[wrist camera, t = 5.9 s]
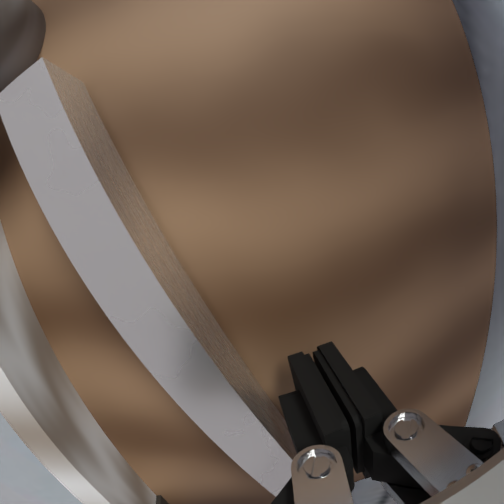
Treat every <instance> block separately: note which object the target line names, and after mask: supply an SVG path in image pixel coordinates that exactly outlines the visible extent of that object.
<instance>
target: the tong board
mask: <svg viewBox="0 0 504 504" xmlns="http://www.w3.org/2000/svg"><path fill="white" fill-rule="evenodd" d="M42 57H43V58H45V59H46V60H48V61H50V62H51V63H53V64H54V65H56V66H58V67H59V68H61V69H63V70H64V71H66V72H67V73H69V74H71V75H72V76H74V77H75V78H77V79H79V80H80V81H82V82H83V83H84V85H85V87H86V89H87V91H88V93H89V95H90V97H91V100H92V102H93V104H94V106H95V108H96V110H97V112H98V114H99V116H100V118H101V120H102V122H103V124H104V126H105V128H106V130H107V132H108V134H109V136H110V138H111V140H112V142H113V144H114V146H115V148H116V150H117V152H118V153H119V155H120V157H121V159H122V161H123V163H124V165H125V167H126V169H127V170H128V172H129V174H130V176H131V178H132V180H133V182H134V183H135V185H136V187H137V189H138V191H139V193H140V194H141V196H142V198H143V200H144V202H145V203H146V205H147V207H148V209H149V210H150V212H151V214H152V216H153V217H154V219H155V221H156V223H157V224H158V226H159V228H160V230H161V231H162V233H163V235H164V236H165V238H166V240H167V242H168V243H169V245H170V247H171V248H172V250H173V252H174V253H175V255H176V257H177V258H178V260H179V262H180V263H181V265H182V267H183V268H184V270H185V272H186V273H187V275H188V276H189V278H190V280H191V281H192V283H193V285H194V286H195V288H196V289H197V291H198V293H199V294H200V296H201V297H202V299H203V301H204V302H205V304H206V305H207V307H208V308H209V310H210V311H211V313H212V315H213V316H214V318H215V319H216V321H217V322H218V324H219V325H220V327H221V328H222V330H223V331H224V333H225V334H226V336H227V338H228V339H229V341H230V342H231V344H232V345H233V347H234V348H235V349H236V351H237V352H238V354H239V355H240V357H241V358H242V360H243V361H244V363H245V364H246V366H247V367H248V369H249V370H250V371H251V373H252V374H253V376H254V377H255V379H256V380H257V381H258V383H259V384H260V386H261V387H262V389H263V390H264V391H265V393H266V394H267V396H268V397H269V398H270V400H271V401H272V403H273V404H274V405H275V407H276V408H277V409H278V411H279V412H280V414H281V415H282V416H283V418H284V415H283V411H282V408H281V405H280V401H279V398H278V396H280V395H283V394H287V393H290V392H293V391H296V390H295V386H294V382H293V378H292V374H291V370H290V366H289V362H288V356H289V355H292V354H295V353H298V352H301V351H302V352H303V353H304V355H305V354H308V353H309V354H310V356H311V357H312V359H313V361H314V358H313V352H314V351H317V346H319V345H322V344H325V343H328V342H331V341H332V342H333V343H334V345H335V346H336V347H337V349H338V350H339V352H340V353H341V354H342V356H343V357H344V359H345V360H346V361H347V363H348V364H349V366H350V367H351V368H352V370H354V369H357V368H360V367H364V368H365V369H366V370H367V371H368V373H369V374H370V375H371V377H372V378H373V379H374V380H375V382H376V383H377V384H378V386H379V387H380V388H381V390H382V391H383V392H384V393H385V395H386V396H387V397H388V399H389V400H390V401H391V403H392V404H393V405H394V406H395V408H396V409H397V410H398V411H399V410H403V409H416V410H420V411H421V412H423V413H425V414H426V415H427V416H428V417H429V418H431V419H432V420H433V421H434V422H435V423H437V424H438V425H447V426H460V427H464V426H465V425H466V422H467V418H468V415H469V412H470V409H471V405H472V402H473V398H474V395H475V391H476V387H477V383H478V379H479V375H480V371H481V367H482V362H483V357H484V352H485V347H486V342H487V336H488V330H489V324H490V317H491V310H492V301H493V292H494V281H495V267H496V243H497V215H496V190H495V177H494V166H493V156H492V148H491V141H490V134H489V128H488V122H487V116H486V111H485V106H484V101H483V97H482V92H481V88H480V84H479V80H478V76H477V72H476V68H475V65H474V61H473V58H472V54H471V51H470V48H469V45H468V41H467V38H466V35H465V33H464V30H463V27H462V24H461V21H460V19H459V16H458V14H457V11H456V8H455V6H454V4H453V1H452V0H0V92H2V91H3V90H4V89H5V88H6V87H7V86H8V85H9V84H10V83H11V82H13V81H14V80H15V79H16V78H17V77H18V76H19V75H21V74H22V73H23V72H24V71H25V70H27V69H28V68H29V67H30V66H32V65H33V64H34V63H35V62H37V61H38V60H39V59H40V58H42ZM0 412H1V414H2V415H3V416H4V418H5V419H6V420H7V422H8V423H9V424H10V426H11V427H12V428H13V430H14V431H15V432H16V433H17V435H18V436H19V437H20V438H21V440H22V441H23V442H24V443H25V444H26V446H27V447H28V448H29V449H30V450H31V452H32V453H33V454H34V455H35V456H36V457H37V458H38V460H39V461H40V462H41V463H42V464H43V465H44V466H45V467H46V468H47V469H48V470H49V471H50V472H51V474H52V475H53V476H54V477H55V478H56V479H57V480H58V481H59V482H60V483H61V484H62V485H63V486H64V487H65V488H66V489H68V490H69V491H70V492H71V493H72V494H73V495H74V496H75V497H76V498H77V499H78V500H79V501H80V502H82V503H83V504H271V502H272V501H273V500H274V499H275V496H274V495H273V494H272V493H270V492H269V491H268V490H267V489H266V488H264V487H263V486H262V485H261V484H260V483H258V482H257V481H256V480H255V479H254V478H253V477H251V476H250V475H249V474H248V473H247V472H246V471H245V470H243V469H242V468H241V467H240V466H239V465H238V464H237V463H236V462H235V461H233V460H232V459H231V458H230V457H229V456H228V455H227V454H226V453H225V452H224V451H223V450H222V449H221V448H220V447H219V446H218V445H217V444H216V443H215V442H214V441H212V440H211V439H210V438H209V437H208V436H207V435H206V434H205V433H204V432H203V430H202V429H201V428H200V427H199V426H198V425H197V424H196V423H195V422H194V421H193V420H192V419H191V418H190V417H189V416H188V415H187V414H186V413H185V412H184V411H183V410H182V408H181V407H180V406H179V405H178V404H177V403H176V402H175V401H174V400H173V398H172V397H171V396H170V395H169V394H168V393H167V392H166V391H165V389H164V388H163V387H162V386H161V385H160V384H159V382H158V381H157V380H156V379H155V378H154V377H153V375H152V374H151V373H150V372H149V371H148V369H147V368H146V367H145V366H144V364H143V363H142V362H141V361H140V359H139V358H138V357H137V356H136V354H135V353H134V352H133V351H132V349H131V348H130V347H129V345H128V344H127V343H126V341H125V340H124V339H123V338H122V336H121V335H120V334H119V332H118V331H117V329H116V328H115V327H114V325H113V324H112V323H111V321H110V320H109V318H108V317H107V316H106V314H105V313H104V311H103V310H102V308H101V307H100V306H99V304H98V303H97V301H96V300H95V298H94V297H93V295H92V294H91V292H90V291H89V289H88V288H87V286H86V285H85V283H84V282H83V280H82V278H81V277H80V275H79V274H78V272H77V271H76V269H75V267H74V266H73V264H72V262H71V261H70V259H69V257H68V256H67V254H66V252H65V251H64V249H63V247H62V246H61V244H60V242H59V240H58V239H57V237H56V235H55V233H54V231H53V230H52V228H51V226H50V224H49V222H48V220H47V219H46V217H45V215H44V213H43V211H42V209H41V207H40V205H39V203H38V201H37V199H36V197H35V195H34V193H33V191H32V189H31V187H30V185H29V183H28V181H27V179H26V176H25V174H24V172H23V170H22V168H21V165H20V163H19V161H18V158H17V156H16V154H15V151H14V149H13V147H12V144H11V142H10V139H9V137H8V134H7V131H6V129H5V126H4V124H3V121H2V118H1V115H0ZM284 419H285V418H284ZM353 472H354V482H357V481H359V480H362V479H364V478H365V477H364V475H363V473H362V472H361V473H358V474H357V473H356V472H355V470H354V468H353Z"/></svg>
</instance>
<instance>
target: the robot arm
mask: <svg viewBox="0 0 504 504" xmlns="http://www.w3.org/2000/svg"><path fill="white" fill-rule="evenodd" d="M313 358H314V361H313V359H312V357H311V356H310V354H309V353H308V354H305V355H304V353H303V352H302V351H301V352H298V353H295V354H292V355H289V356H288V362H289V366H290V370H291V374H292V378H293V382H294V386H295V390H296V391H293V392H290V393H287V394H283V395H280V396H278V398H279V401H280V405H281V408H282V411H283V415H284V418H285V421H286V424H287V427H288V430H289V433H290V436H291V439H292V441H293V444H294V447H295V450H296V453H297V455H296V456H295V457H294V459H293V461H292V463H291V474H292V477H291V478H290V479H289V481H288V482H287V483H286V485H285V486H284V487H283V489H282V490H281V491H280V492H279V494H278V495H277V496H276V497H275V499H274V500H273V501H272V502H271V504H353V500H352V496H351V492H352V490H353V489H354V472H353V468H354V470H355V472H356V473H357V474H358V473H361V472H362V473H363V475H364V477H365V479H366V478H369V477H371V478H372V480H376V481H381V484H382V486H383V487H384V488H385V490H386V491H387V492H388V493H389V494H390V496H391V497H392V498H393V499H394V500H395V501H396V503H397V504H504V420H502V421H500V422H498V423H496V424H494V425H493V428H491V429H487V428H476V427H460V426H447V425H438V424H437V423H435V422H434V421H433V420H432V419H431V418H429V417H428V416H427V415H426V414H425V413H423V412H421V411H420V410H416V409H403V410H399V411H398V410H397V409H396V408H395V406H394V405H393V404H392V403H391V401H390V400H389V399H388V397H387V396H386V395H385V393H384V392H383V391H382V390H381V388H380V387H379V386H378V384H377V383H376V382H375V380H374V379H373V378H372V377H371V375H370V374H369V373H368V371H367V370H366V369H365V368H364V367H360V368H357V369H354V370H352V368H351V367H350V366H349V364H348V363H347V361H346V360H345V359H344V357H343V356H342V354H341V353H340V352H339V350H338V349H337V347H336V346H335V345H334V343H333V342H332V341H331V342H328V343H325V344H322V345H319V346H317V351H314V352H313Z"/></svg>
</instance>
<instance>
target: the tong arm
mask: <svg viewBox="0 0 504 504" xmlns="http://www.w3.org/2000/svg"><path fill="white" fill-rule="evenodd" d="M0 115H1V118H2V121H3V124H4V126H5V129H6V131H7V134H8V137H9V139H10V142H11V144H12V147H13V149H14V151H15V154H16V156H17V158H18V161H19V163H20V165H21V168H22V170H23V172H24V174H25V176H26V179H27V181H28V183H29V185H30V187H31V189H32V191H33V193H34V195H35V197H36V199H37V201H38V203H39V205H40V207H41V209H42V211H43V213H44V215H45V217H46V219H47V220H48V222H49V224H50V226H51V228H52V230H53V231H54V233H55V235H56V237H57V239H58V240H59V242H60V244H61V246H62V247H63V249H64V251H65V252H66V254H67V256H68V257H69V259H70V261H71V262H72V264H73V266H74V267H75V269H76V271H77V272H78V274H79V275H80V277H81V278H82V280H83V282H84V283H85V285H86V286H87V288H88V289H89V291H90V292H91V294H92V295H93V297H94V298H95V300H96V301H97V303H98V304H99V306H100V307H101V308H102V310H103V311H104V313H105V314H106V316H107V317H108V318H109V320H110V321H111V323H112V324H113V325H114V327H115V328H116V329H117V331H118V332H119V334H120V335H121V336H122V338H123V339H124V340H125V341H126V343H127V344H128V345H129V347H130V348H131V349H132V351H133V352H134V353H135V354H136V356H137V357H138V358H139V359H140V361H141V362H142V363H143V364H144V366H145V367H146V368H147V369H148V371H149V372H150V373H151V374H152V375H153V377H154V378H155V379H156V380H157V381H158V382H159V384H160V385H161V386H162V387H163V388H164V389H165V391H166V392H167V393H168V394H169V395H170V396H171V397H172V398H173V400H174V401H175V402H176V403H177V404H178V405H179V406H180V407H181V408H182V410H183V411H184V412H185V413H186V414H187V415H188V416H189V417H190V418H191V419H192V420H193V421H194V422H195V423H196V424H197V425H198V426H199V427H200V428H201V429H202V430H203V432H204V433H205V434H206V435H207V436H208V437H209V438H210V439H211V440H212V441H214V442H215V443H216V444H217V445H218V446H219V447H220V448H221V449H222V450H223V451H224V452H225V453H226V454H227V455H228V456H229V457H230V458H231V459H232V460H233V461H235V462H236V463H237V464H238V465H239V466H240V467H241V468H242V469H243V470H245V471H246V472H247V473H248V474H249V475H250V476H251V477H253V478H254V479H255V480H256V481H257V482H258V483H260V484H261V485H262V486H263V487H264V488H266V489H267V490H268V491H269V492H270V493H272V494H273V495H274V496H275V497H276V496H277V495H278V494H279V492H280V491H281V490H282V489H283V487H284V486H285V485H286V483H287V482H288V481H289V479H290V478H291V477H292V474H291V463H292V461H293V459H294V457H295V456H296V455H297V453H296V450H295V447H294V444H293V441H292V439H291V436H290V433H289V430H288V427H287V424H286V421H285V419H284V418H283V416H282V415H281V414H280V412H279V411H278V409H277V408H276V407H275V405H274V404H273V403H272V401H271V400H270V398H269V397H268V396H267V394H266V393H265V391H264V390H263V389H262V387H261V386H260V384H259V383H258V381H257V380H256V379H255V377H254V376H253V374H252V373H251V371H250V370H249V369H248V367H247V366H246V364H245V363H244V361H243V360H242V358H241V357H240V355H239V354H238V352H237V351H236V349H235V348H234V347H233V345H232V344H231V342H230V341H229V339H228V338H227V336H226V334H225V333H224V331H223V330H222V328H221V327H220V325H219V324H218V322H217V321H216V319H215V318H214V316H213V315H212V313H211V311H210V310H209V308H208V307H207V305H206V304H205V302H204V301H203V299H202V297H201V296H200V294H199V293H198V291H197V289H196V288H195V286H194V285H193V283H192V281H191V280H190V278H189V276H188V275H187V273H186V272H185V270H184V268H183V267H182V265H181V263H180V262H179V260H178V258H177V257H176V255H175V253H174V252H173V250H172V248H171V247H170V245H169V243H168V242H167V240H166V238H165V236H164V235H163V233H162V231H161V230H160V228H159V226H158V224H157V223H156V221H155V219H154V217H153V216H152V214H151V212H150V210H149V209H148V207H147V205H146V203H145V202H144V200H143V198H142V196H141V194H140V193H139V191H138V189H137V187H136V185H135V183H134V182H133V180H132V178H131V176H130V174H129V172H128V170H127V169H126V167H125V165H124V163H123V161H122V159H121V157H120V155H119V153H118V152H117V150H116V148H115V146H114V144H113V142H112V140H111V138H110V136H109V134H108V132H107V130H106V128H105V126H104V124H103V122H102V120H101V118H100V116H99V114H98V112H97V110H96V108H95V106H94V104H93V102H92V100H91V97H90V95H89V93H88V91H87V89H86V87H85V85H84V83H83V82H82V81H80V80H79V79H77V78H75V77H74V76H72V75H71V74H69V73H67V72H66V71H64V70H63V69H61V68H59V67H58V66H56V65H54V64H53V63H51V62H50V61H48V60H46V59H45V58H43V57H42V58H40V59H39V60H38V61H37V62H35V63H34V64H33V65H32V66H30V67H29V68H28V69H27V70H25V71H24V72H23V73H22V74H21V75H19V76H18V77H17V78H16V79H15V80H14V81H13V82H11V83H10V84H9V85H8V86H7V87H6V88H5V89H4V90H3V91H2V92H0Z"/></svg>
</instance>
